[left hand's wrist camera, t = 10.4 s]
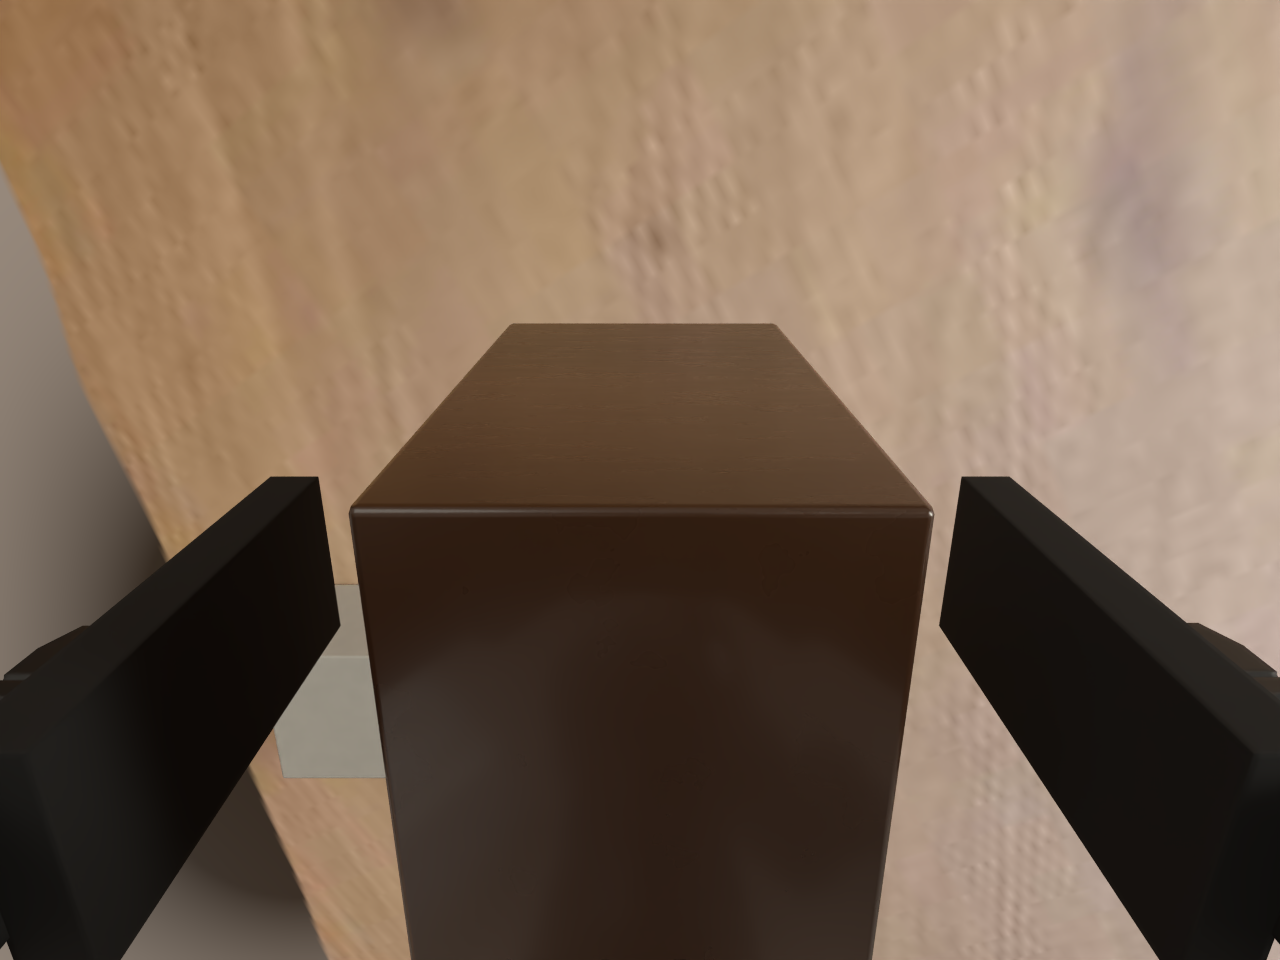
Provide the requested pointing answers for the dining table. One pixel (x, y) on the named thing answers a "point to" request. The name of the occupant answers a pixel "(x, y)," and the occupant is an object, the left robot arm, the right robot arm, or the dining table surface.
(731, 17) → the dining table surface
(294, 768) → the rubber block
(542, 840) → the bar
